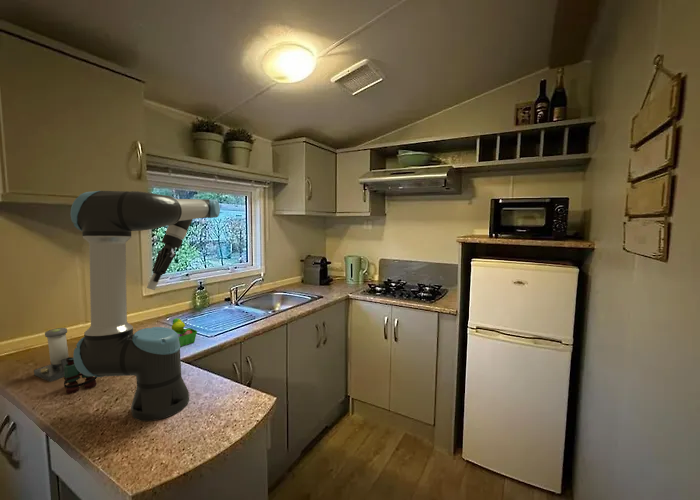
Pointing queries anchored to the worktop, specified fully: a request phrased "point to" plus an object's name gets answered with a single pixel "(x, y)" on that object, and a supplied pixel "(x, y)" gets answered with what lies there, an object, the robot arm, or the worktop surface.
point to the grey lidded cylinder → (57, 345)
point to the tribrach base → (51, 371)
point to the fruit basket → (183, 332)
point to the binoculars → (76, 378)
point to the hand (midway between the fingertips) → (150, 289)
